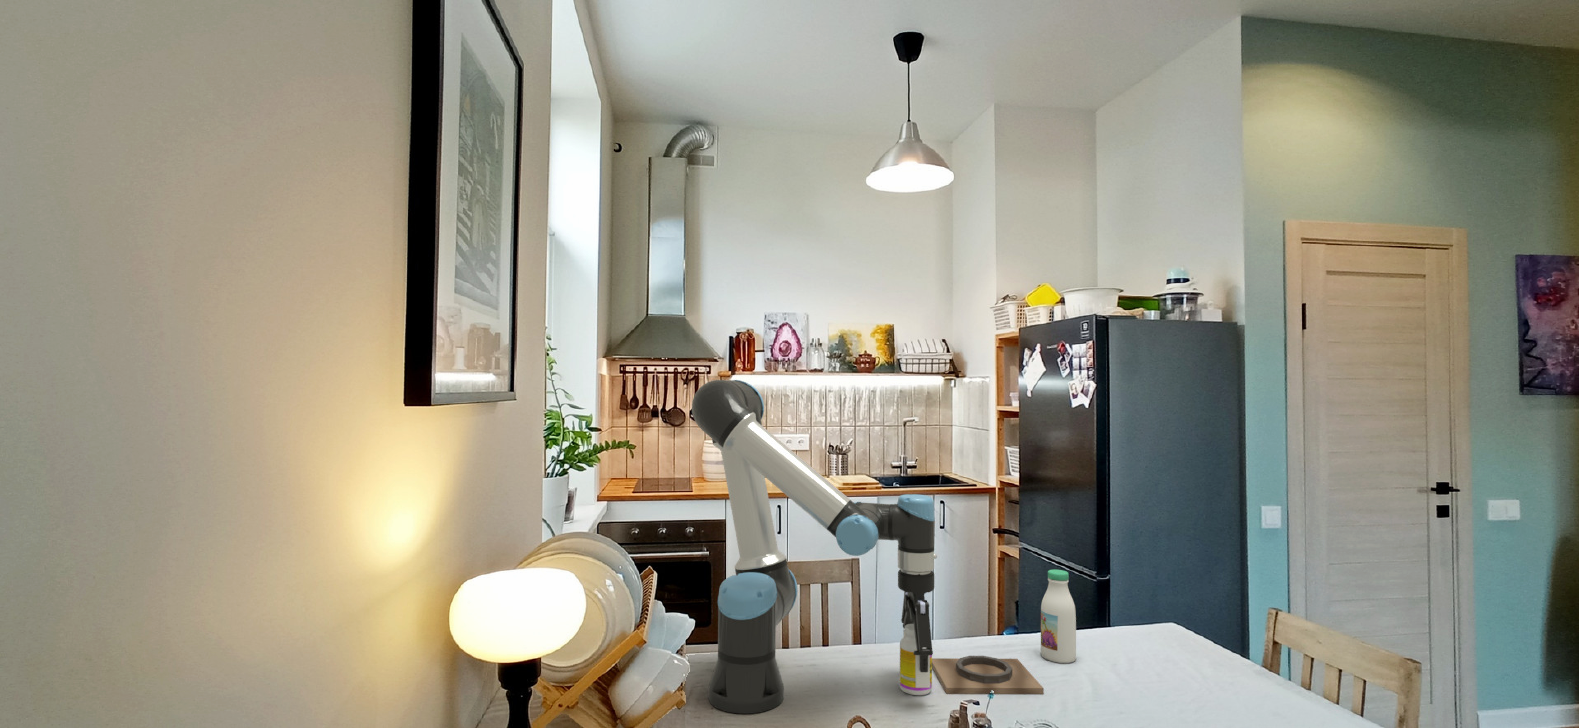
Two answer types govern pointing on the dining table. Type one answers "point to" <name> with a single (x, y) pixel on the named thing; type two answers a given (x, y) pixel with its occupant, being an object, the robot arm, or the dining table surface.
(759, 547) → the robot arm
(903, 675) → the supplement bottle
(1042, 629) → the milk bottle
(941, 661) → the socket board
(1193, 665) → the dining table surface
